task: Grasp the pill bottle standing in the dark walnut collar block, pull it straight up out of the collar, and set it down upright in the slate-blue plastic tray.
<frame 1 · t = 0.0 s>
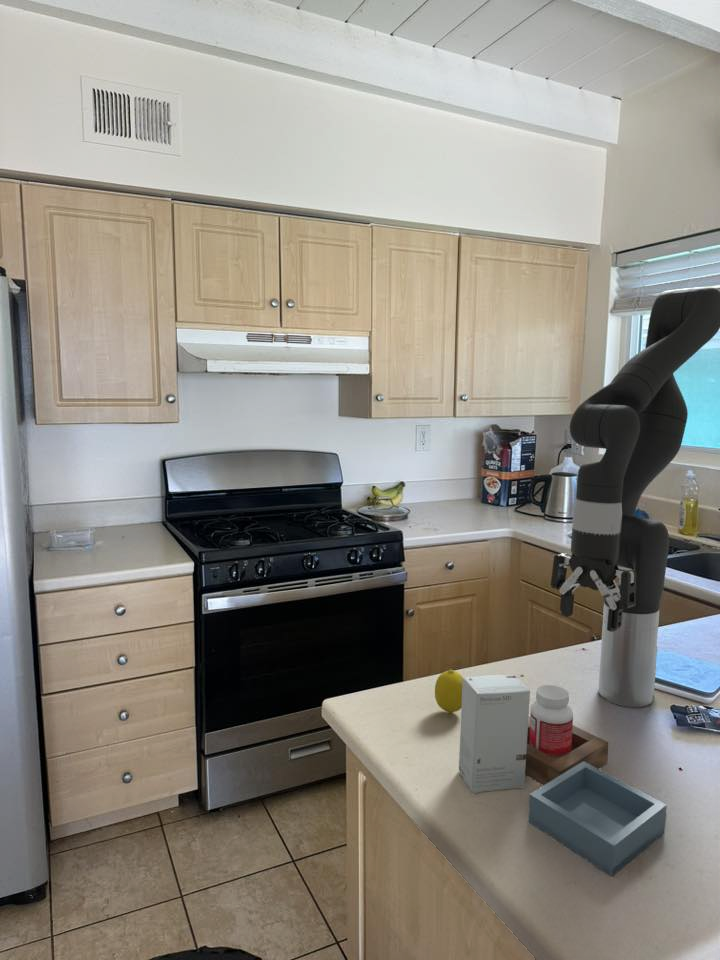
hand: (589, 622, 109), 17 cm above the worktop, tool pointing down, fingers open, 8 cm apart
lemon: (450, 714, 113), on the worktop
tray: (595, 827, 84), on the worktop
collar block: (549, 759, 99), on the worktop
skincare box: (491, 780, 95), on the worktop
pill bottle: (549, 760, 99), resting in collar block
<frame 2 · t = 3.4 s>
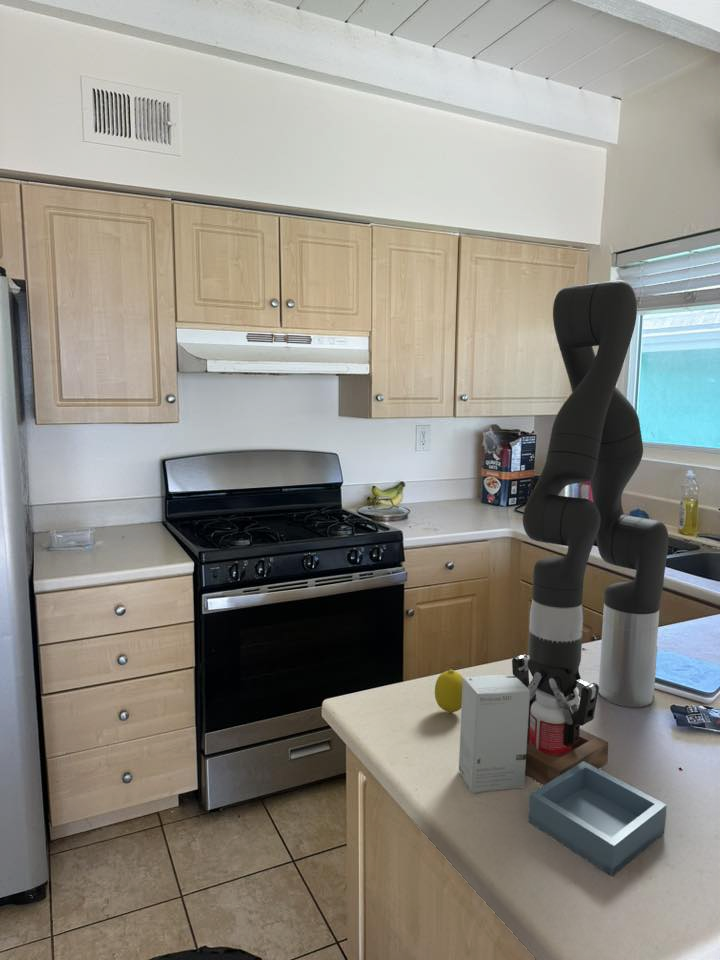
hand: (550, 734, 99), 4 cm above the worktop, tool pointing down, fingers closed on pill bottle, 6 cm apart
pill bottle: (549, 760, 99), resting in collar block, touching gripper
everything else where it was.
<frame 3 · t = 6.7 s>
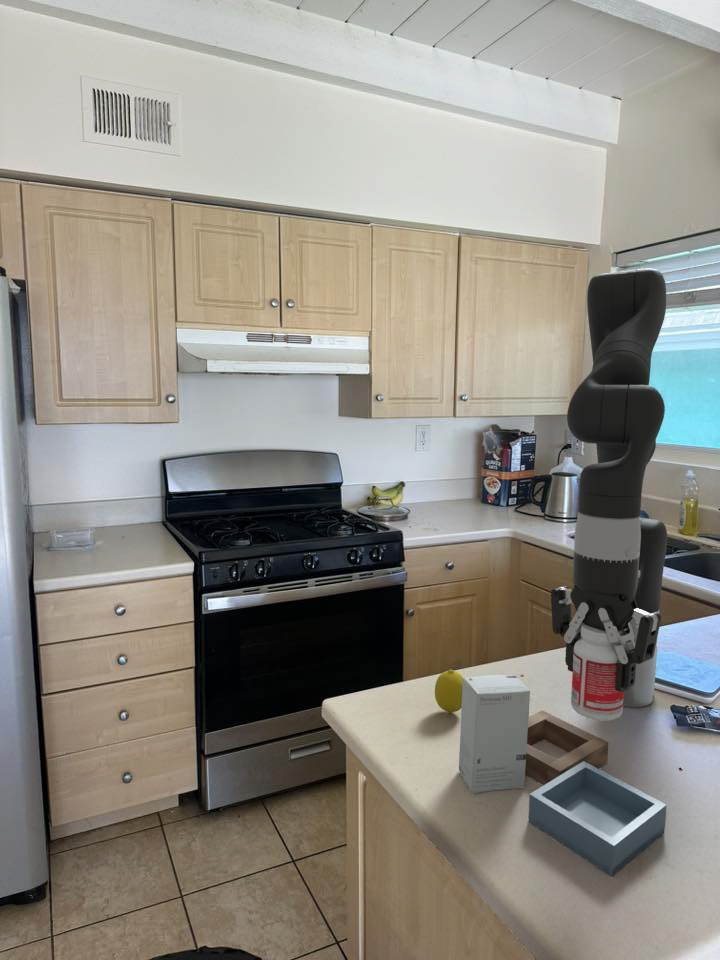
hand: (598, 679, 82), 20 cm above the worktop, tool pointing down, fingers closed on pill bottle, 6 cm apart
pill bottle: (595, 711, 82), point 16 cm above the worktop, touching gripper
everything else where it was.
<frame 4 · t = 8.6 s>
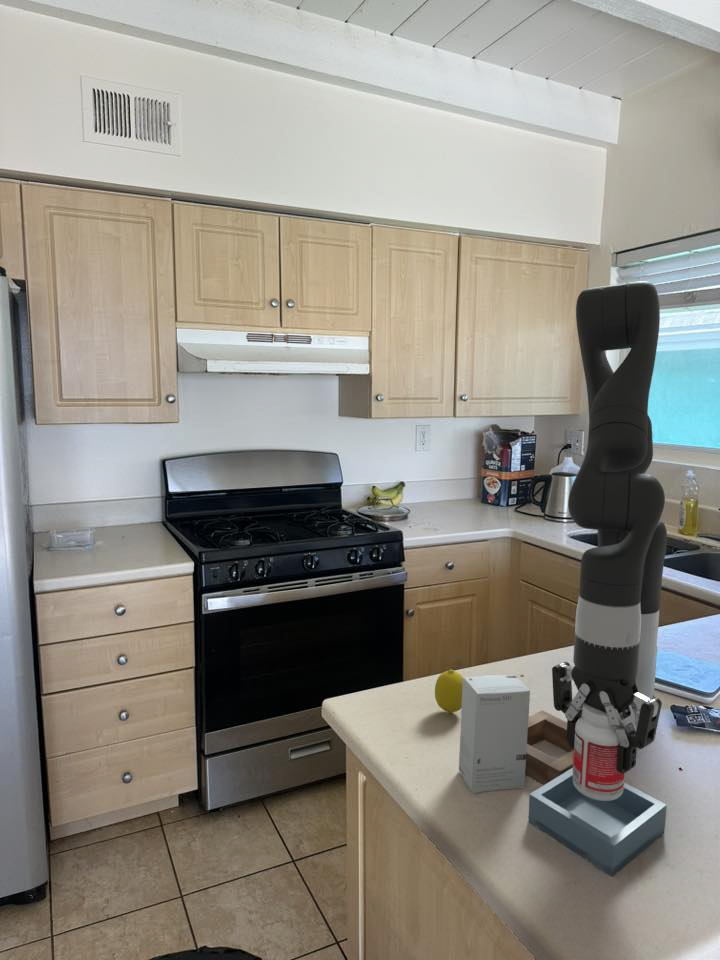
hand: (599, 757, 83), 10 cm above the worktop, tool pointing down, fingers closed on pill bottle, 6 cm apart
pill bottle: (597, 789, 83), point 5 cm above the worktop, touching gripper
everything else where it was.
when the fingers open (7 cm above the worktop, at t = 10.3 s): pill bottle drops 1 cm, resting on tray.
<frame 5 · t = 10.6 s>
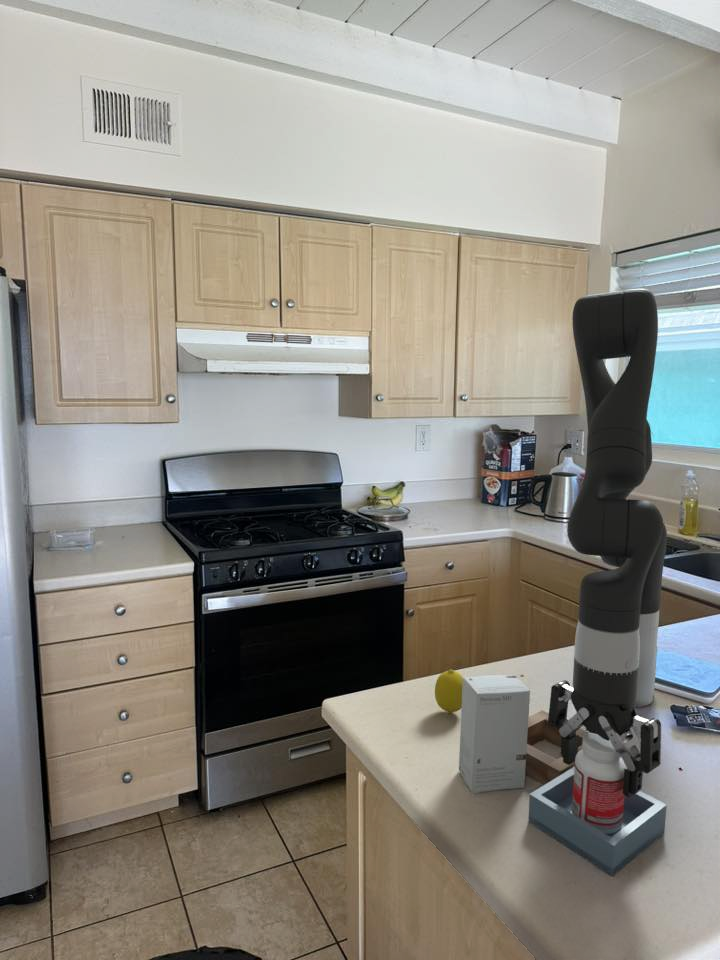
hand: (598, 777, 83), 7 cm above the worktop, tool pointing down, fingers open, 8 cm apart
pill bottle: (596, 821, 84), point 1 cm above the worktop, touching tray
everything else where it was.
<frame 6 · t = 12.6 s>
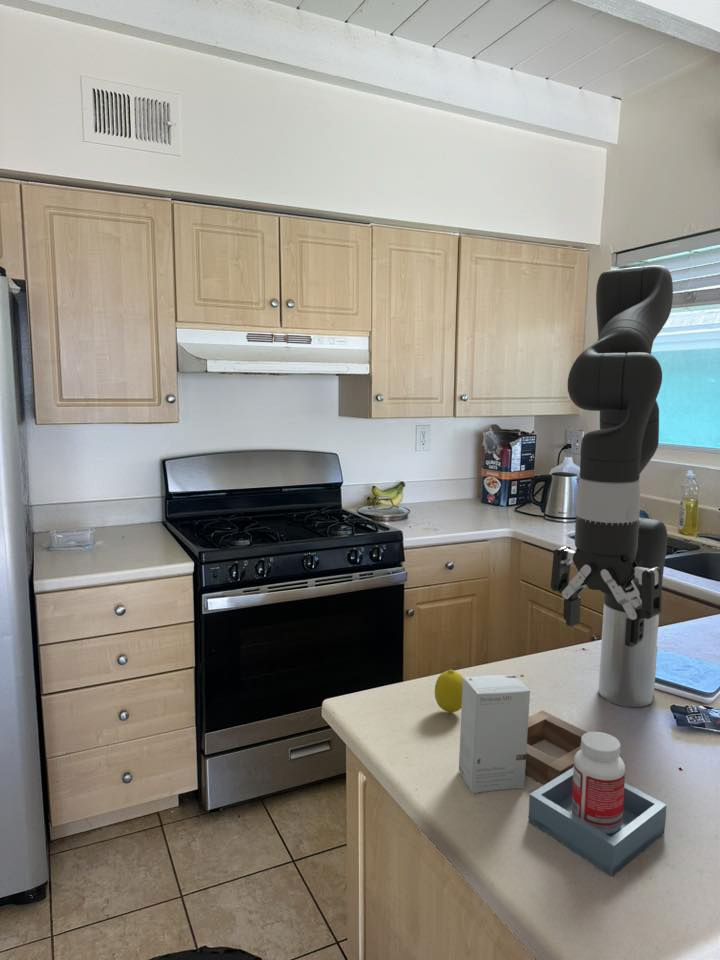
hand: (601, 634, 85), 24 cm above the worktop, tool pointing down, fingers open, 8 cm apart
nothing on the worktop moved.
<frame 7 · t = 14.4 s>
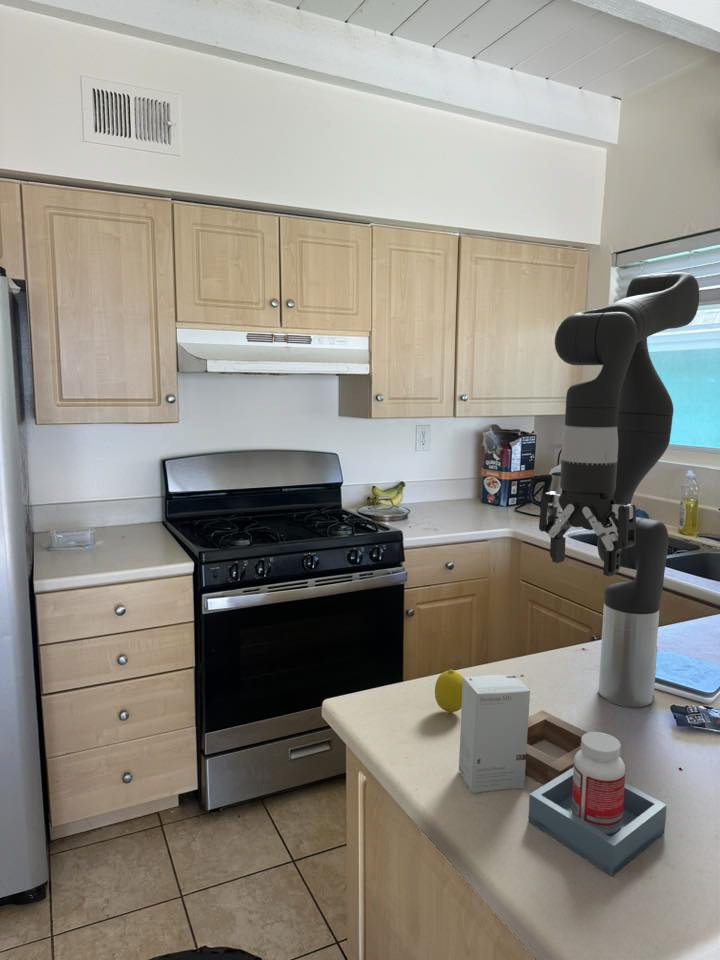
hand: (582, 568, 95), 30 cm above the worktop, tool pointing down, fingers open, 8 cm apart
nothing on the worktop moved.
at the end: pill bottle 0.1 cm off-centre on the tray, point 0.8 cm above the tray's base; pill bottle tilted 0°; the gripper is holding nothing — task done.
